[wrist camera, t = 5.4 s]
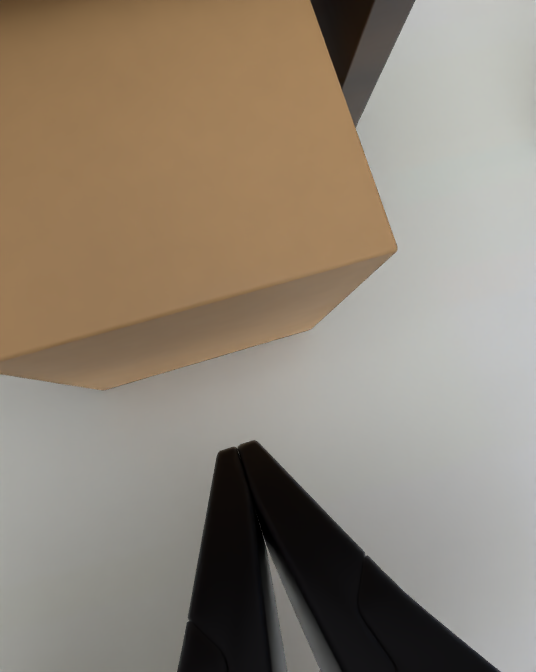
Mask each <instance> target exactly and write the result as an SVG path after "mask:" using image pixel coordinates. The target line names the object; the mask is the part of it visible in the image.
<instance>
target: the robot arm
mask: <svg viewBox="0 0 536 672" xmlns="http://www.w3.org/2000/svg"><path fill="white" fill-rule="evenodd" d="M257 516H258V517H257ZM259 523H260V524H259ZM260 526H261V527H260ZM261 530H262V531H261ZM262 533H263V534H262ZM263 536H264V538H263ZM264 539H265V542H266V545H267V548H268V551H269V553H270V556H271V558H272V560H273V563H274V565H275V567H276V569H277V572H278V574H279V576H280V579H281V581H282V583H283V586H284V588H285V590H286V593H287V595H288V597H289V599H290V602H291V604H292V606H293V609H294V611H295V613H296V616H297V618H298V620H299V622H300V625H301V627H302V629H303V632H304V634H305V636H306V639H307V641H308V643H309V645H310V648H311V650H312V652H313V655H314V657H315V659H316V662H317V664H318V666H319V668H320V671H321V672H500V671H499V670H498V669H497V668H495V667H494V666H493V665H491V664H490V663H489V662H488V661H486V660H485V659H484V658H483V657H482V656H480V655H479V654H478V653H477V652H476V651H474V650H473V649H472V648H471V647H469V646H468V645H467V644H466V643H465V642H463V641H462V640H461V639H460V638H459V637H457V636H456V635H455V634H454V633H452V632H451V631H450V630H449V629H448V628H446V627H445V626H444V625H443V624H442V623H440V622H439V621H438V620H437V619H435V618H434V617H433V616H432V615H431V614H429V613H428V612H427V611H426V610H425V609H424V608H422V607H421V606H420V605H419V604H418V603H417V602H416V601H414V600H413V599H412V598H411V597H410V596H409V595H408V594H406V593H405V592H404V591H403V590H402V589H401V588H400V587H399V586H398V585H397V584H396V583H395V582H394V581H393V580H392V579H391V578H390V577H389V576H388V575H387V574H386V573H384V572H383V571H382V570H381V569H380V567H379V566H378V565H377V564H376V563H375V562H374V561H373V560H372V559H371V558H370V557H369V556H365V552H364V551H363V550H362V549H361V548H360V547H359V546H358V545H357V544H356V543H355V542H354V541H353V540H352V539H351V538H350V537H349V536H348V535H347V534H346V533H345V532H344V531H343V529H342V528H341V527H340V526H339V525H338V524H337V523H336V522H335V521H334V520H333V519H332V518H331V517H330V516H329V515H328V514H327V513H326V512H325V511H324V510H323V509H322V508H321V507H320V506H319V505H318V504H317V503H316V502H315V500H314V499H313V498H312V497H311V496H310V495H309V494H308V493H307V492H306V491H305V490H304V489H303V488H302V487H301V486H300V485H299V484H298V483H297V482H296V481H295V480H294V479H293V478H292V477H291V476H290V475H289V474H288V473H287V471H286V470H285V469H284V468H283V467H282V466H281V465H280V464H279V463H278V462H277V461H276V460H275V459H274V458H273V457H272V456H271V455H270V454H269V453H268V452H267V451H266V450H265V449H264V448H263V447H262V446H261V445H260V444H259V443H258V442H257V441H255V440H253V441H250V442H247V443H243V444H240V445H239V446H238V449H237V448H236V447H231V448H228V449H225V450H222V451H219V452H218V454H217V458H216V463H215V469H214V474H213V480H212V485H211V491H210V497H209V502H208V508H207V513H206V519H205V525H204V530H203V536H202V541H201V547H200V553H199V558H198V564H197V569H196V575H195V581H194V586H193V592H192V597H191V603H190V609H189V614H188V619H189V621H188V622H187V624H186V630H185V635H184V641H183V646H182V651H181V656H180V661H179V665H178V670H177V672H287V666H286V660H285V654H284V648H283V642H282V637H281V631H280V625H279V619H278V613H277V607H276V601H275V595H274V590H273V584H272V578H271V572H270V566H269V560H268V555H267V550H266V545H265V542H264Z"/></svg>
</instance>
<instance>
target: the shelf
mask: <svg viewBox="0 0 536 672" xmlns="http://www.w3.org/2000/svg"><path fill="white" fill-rule="evenodd" d="M310 1H311V4H312V7H313V10H314V12H315V15H316V18H317V21H318V24H319V27H320V29H321V32H322V35H323V38H324V41H325V44H326V46H327V49H328V52H329V55H330V58H331V61H332V63H333V66H334V69H335V72H336V75H337V77H338V80H339V83H340V86H341V89H342V92H343V94H344V97H345V100H346V103H347V106H348V109H349V111H350V114H351V117H352V120H353V123H354V126H355V128H356V125H357V123H358V121H359V119H360V117H361V115H362V113H363V111H364V108H365V106H366V104H367V102H368V100H369V98H370V96H371V93H372V91H373V89H374V87H375V85H376V83H377V81H378V79H379V76H380V74H381V72H382V70H383V68H384V66H385V64H386V62H387V59H388V57H389V55H390V53H391V51H392V49H393V47H394V45H395V42H396V40H397V38H398V36H399V34H400V32H401V30H402V28H403V25H404V23H405V21H406V19H407V17H408V15H409V13H410V10H411V8H412V6H413V4H414V2H415V0H310Z"/></svg>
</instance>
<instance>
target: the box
mask: <svg viewBox="0 0 536 672" xmlns="http://www.w3.org/2000/svg"><path fill="white" fill-rule="evenodd" d="M396 251H397V244H396V242H395V239H394V236H393V233H392V230H391V227H390V225H389V222H388V219H387V216H386V213H385V210H384V208H383V205H382V202H381V199H380V196H379V193H378V191H377V188H376V185H375V182H374V179H373V176H372V174H371V171H370V168H369V165H368V162H367V160H366V157H365V154H364V151H363V148H362V145H361V143H360V140H359V137H358V134H357V131H356V128H355V126H354V123H353V120H352V117H351V114H350V111H349V109H348V106H347V103H346V100H345V97H344V94H343V92H342V89H341V86H340V83H339V80H338V77H337V75H336V72H335V69H334V66H333V63H332V61H331V58H330V55H329V52H328V49H327V46H326V44H325V41H324V38H323V35H322V32H321V29H320V27H319V24H318V21H317V18H316V15H315V12H314V10H313V7H312V4H311V1H310V0H0V374H3V375H9V376H15V377H22V378H28V379H34V380H41V381H47V382H53V383H59V384H66V385H72V386H78V387H85V388H91V389H97V390H107V389H110V388H113V387H117V386H120V385H124V384H127V383H130V382H134V381H137V380H141V379H144V378H147V377H151V376H154V375H158V374H161V373H164V372H168V371H171V370H175V369H178V368H181V367H185V366H188V365H192V364H195V363H198V362H202V361H205V360H208V359H212V358H215V357H219V356H222V355H225V354H229V353H232V352H236V351H239V350H242V349H246V348H249V347H253V346H256V345H259V344H263V343H266V342H270V341H273V340H276V339H280V338H283V337H287V336H290V335H293V334H297V333H300V332H304V331H307V330H310V329H312V328H313V327H314V326H315V325H316V324H317V323H318V322H320V321H321V320H322V319H323V318H324V317H325V316H326V315H327V314H328V313H329V312H331V311H332V310H333V309H334V308H335V307H336V306H337V305H338V304H339V303H340V302H342V301H343V300H344V299H345V298H346V297H347V296H348V295H349V294H350V293H351V292H352V291H354V290H355V289H356V288H357V287H358V286H359V285H360V284H361V283H362V282H363V281H365V280H366V279H367V278H368V277H369V276H370V275H371V274H372V273H373V272H374V271H376V270H377V269H378V268H379V267H380V266H381V265H382V264H383V263H384V262H385V261H386V260H388V259H389V258H390V257H391V256H392V255H393V254H394V253H395V252H396Z"/></svg>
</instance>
